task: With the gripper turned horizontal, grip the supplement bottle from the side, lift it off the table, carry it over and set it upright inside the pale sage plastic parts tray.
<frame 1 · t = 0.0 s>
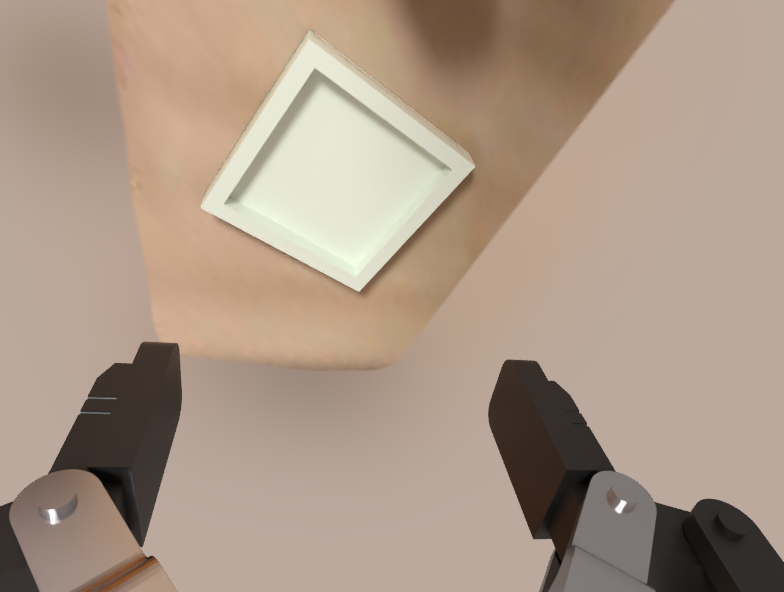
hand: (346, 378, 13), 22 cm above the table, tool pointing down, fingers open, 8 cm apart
parts tray: (337, 171, 34), on the table
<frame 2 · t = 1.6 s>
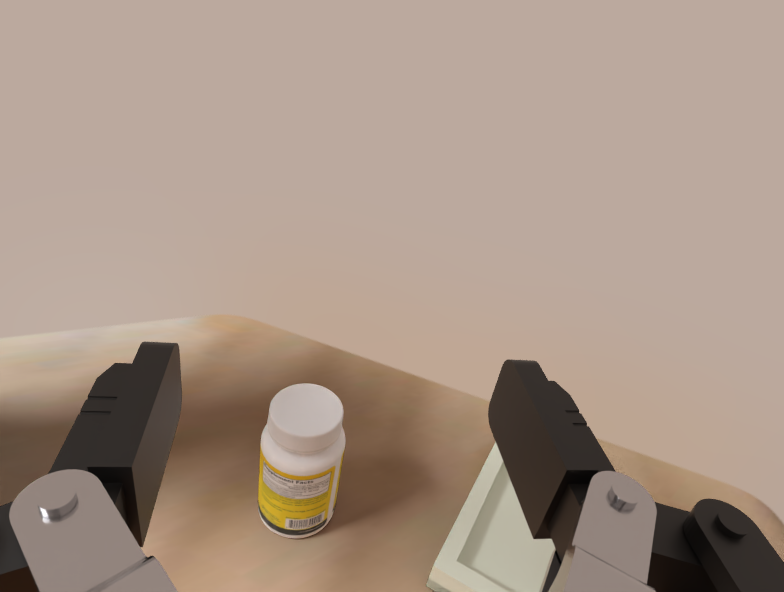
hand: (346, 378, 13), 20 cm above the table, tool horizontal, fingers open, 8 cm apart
supplement bottle: (296, 507, 33), on the table
parts tray: (552, 558, 33), on the table
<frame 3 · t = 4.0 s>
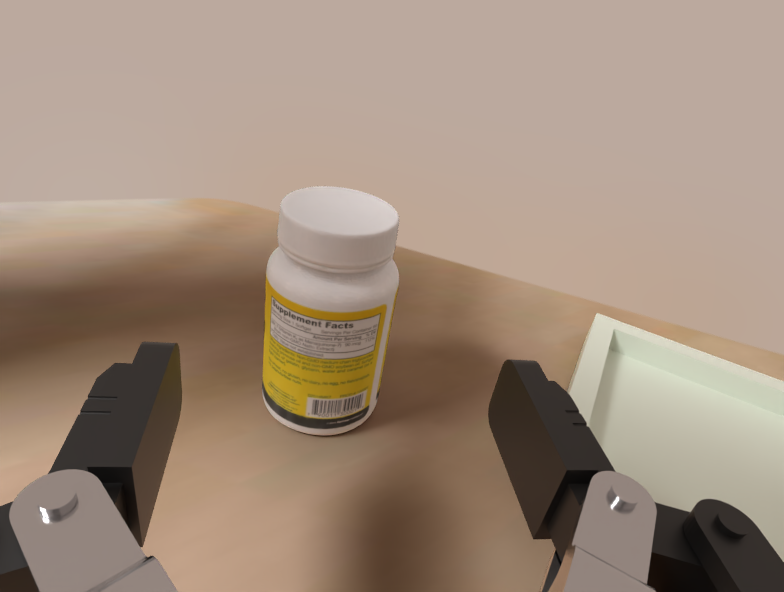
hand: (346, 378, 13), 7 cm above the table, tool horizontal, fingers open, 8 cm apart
supplement bottle: (319, 400, 22), on the table
parts tray: (704, 467, 22), on the table
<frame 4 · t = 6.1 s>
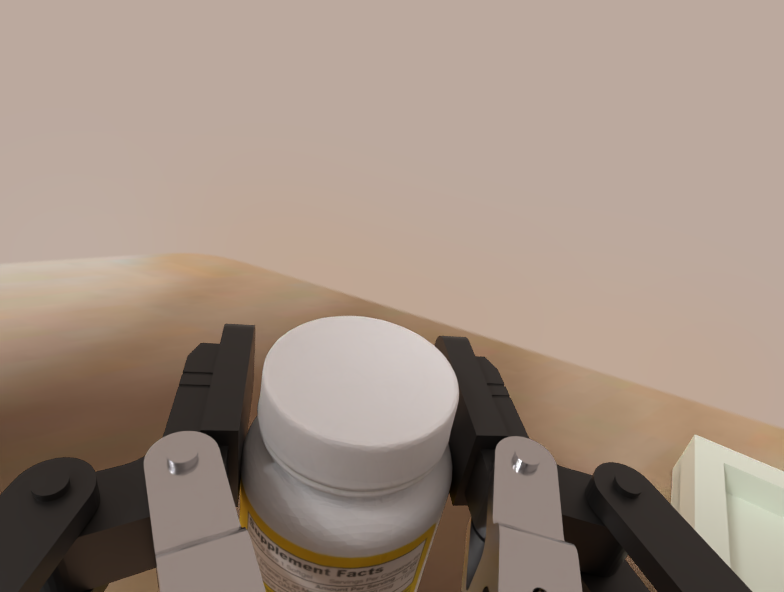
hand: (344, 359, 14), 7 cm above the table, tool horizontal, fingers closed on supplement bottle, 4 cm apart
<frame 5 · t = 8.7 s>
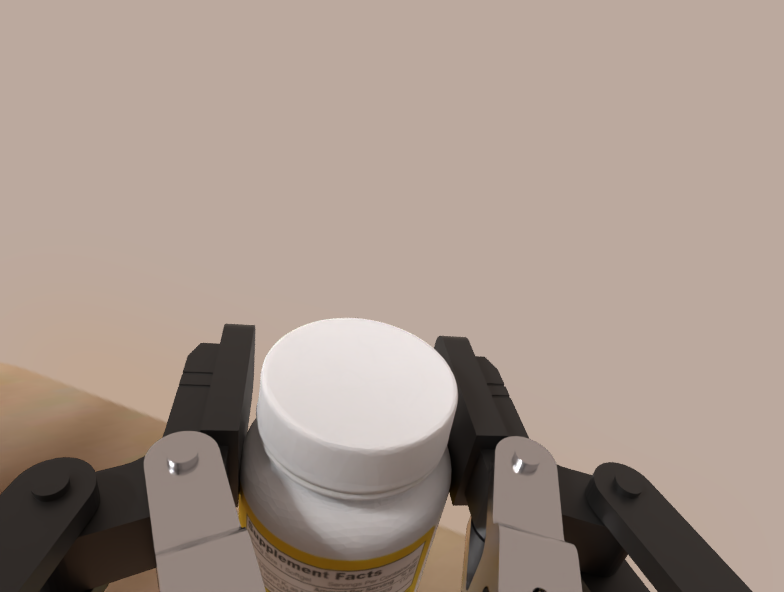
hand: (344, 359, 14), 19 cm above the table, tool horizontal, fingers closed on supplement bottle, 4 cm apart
when the fingers open (8 cm above the table, at t = 11.2 s): supplement bottle drops 1 cm, resting on parts tray.
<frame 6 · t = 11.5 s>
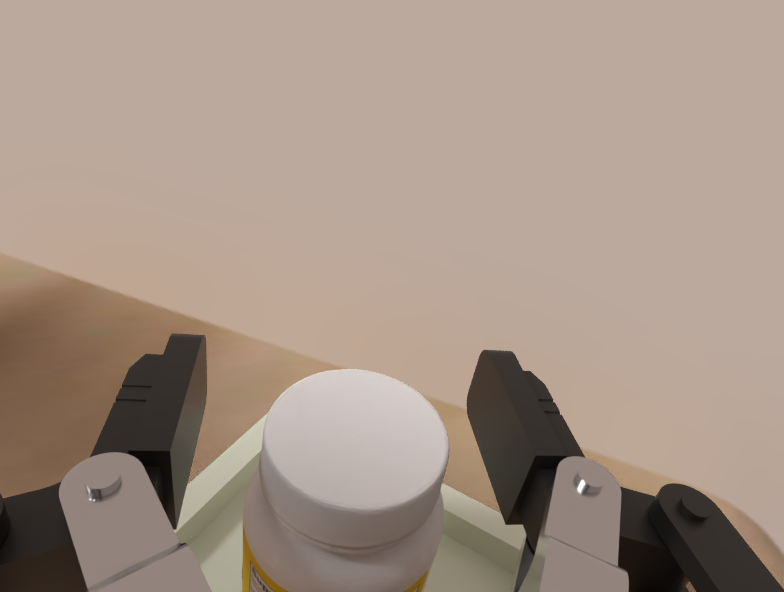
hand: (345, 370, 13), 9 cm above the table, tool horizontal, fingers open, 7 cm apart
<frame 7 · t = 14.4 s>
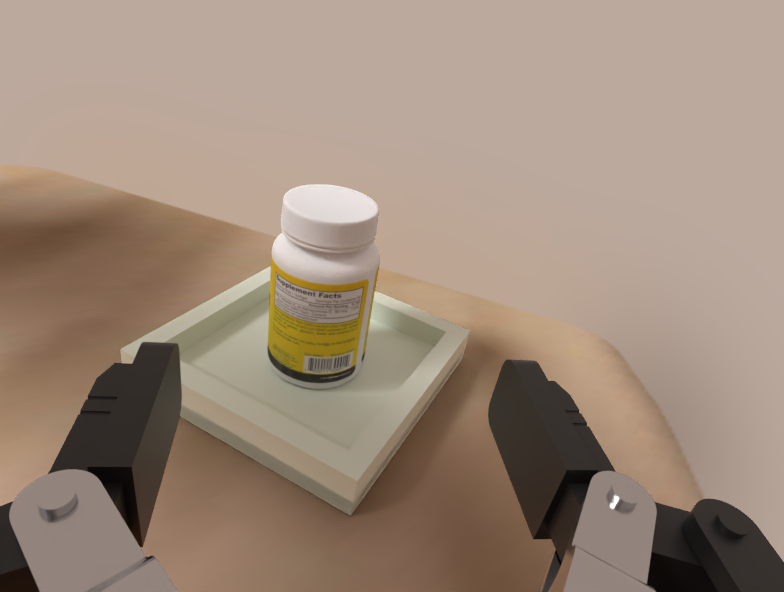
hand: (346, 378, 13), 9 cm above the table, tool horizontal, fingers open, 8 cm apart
supplement bottle: (314, 362, 26), point 1 cm above the table, touching parts tray
parts tray: (311, 370, 27), on the table
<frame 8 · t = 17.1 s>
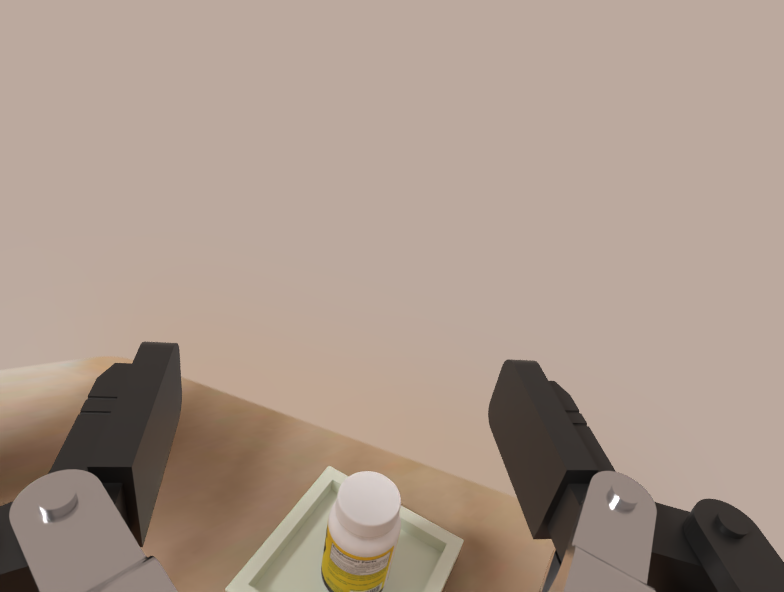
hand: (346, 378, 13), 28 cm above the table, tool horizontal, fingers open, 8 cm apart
supplement bottle: (353, 575, 37), point 1 cm above the table, touching parts tray
parts tray: (350, 579, 38), on the table
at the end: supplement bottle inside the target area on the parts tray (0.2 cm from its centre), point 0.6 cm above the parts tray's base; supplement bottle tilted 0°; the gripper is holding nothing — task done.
